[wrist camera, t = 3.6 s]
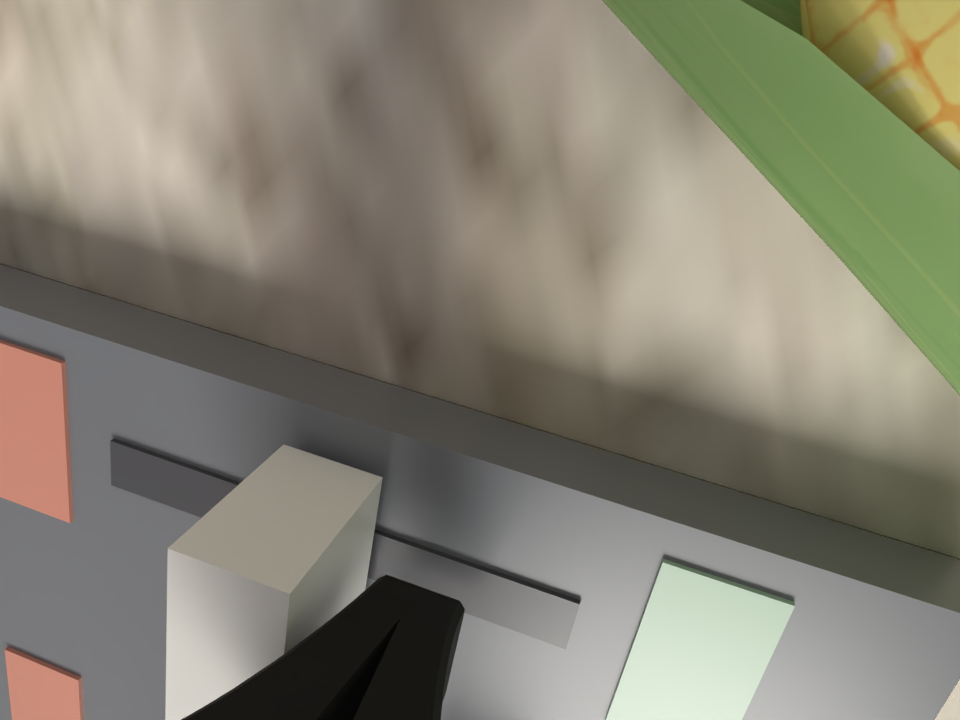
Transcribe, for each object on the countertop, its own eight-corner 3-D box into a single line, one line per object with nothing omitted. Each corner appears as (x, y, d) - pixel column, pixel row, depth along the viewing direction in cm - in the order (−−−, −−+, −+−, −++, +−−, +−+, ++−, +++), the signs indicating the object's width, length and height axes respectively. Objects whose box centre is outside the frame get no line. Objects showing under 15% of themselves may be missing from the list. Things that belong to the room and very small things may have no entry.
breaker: (269, 607, 14) (165, 735, 12) (283, 443, 13) (168, 548, 10) (357, 640, 14) (271, 780, 11) (382, 477, 12) (290, 594, 10)
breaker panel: (-10, 691, 21) (-63, 737, 20) (-65, 244, 16) (-143, 263, 14) (709, 1004, 17) (709, 1089, 16) (963, 560, 12) (995, 628, 11)
